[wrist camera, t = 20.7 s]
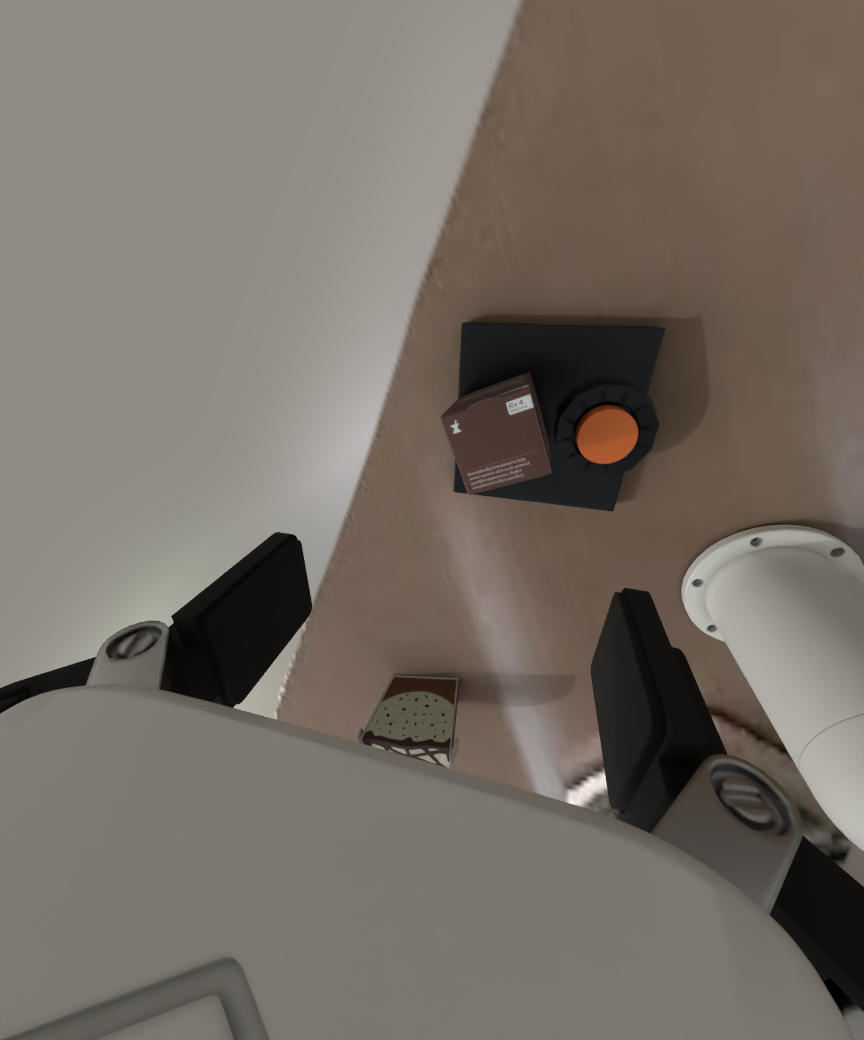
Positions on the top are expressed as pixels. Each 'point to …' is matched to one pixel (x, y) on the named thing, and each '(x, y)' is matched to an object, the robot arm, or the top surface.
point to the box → (498, 435)
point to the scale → (567, 397)
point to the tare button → (606, 434)
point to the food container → (416, 719)
